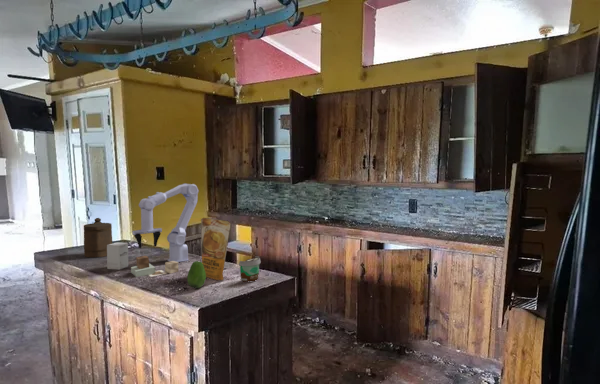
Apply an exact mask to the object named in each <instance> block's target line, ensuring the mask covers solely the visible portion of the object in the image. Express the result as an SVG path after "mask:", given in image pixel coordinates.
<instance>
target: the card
mask: <svg viewBox="0 0 600 384" xmlns="http://www.w3.org/2000/svg"><path fill="white" fill-rule="evenodd" d="M155 272H156V273H154V274H150V275H148V276H149V277H150V278H151V277H152V278H153V277H156V276H157V277H158V276H161V275H167V274H168V273H167V272H165V270H162V269H160V270H159V269H158V270H155Z"/></svg>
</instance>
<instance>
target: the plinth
mask: <svg viewBox="0 0 600 384" xmlns="http://www.w3.org/2000/svg"><path fill="white" fill-rule="evenodd" d="M155 271H156V267H155V266H154V265H153V264H151V263H150V262H149V267H148V268H143V269H139V268H137V265H135V266H131V267H130V273H131V274H132V275H133V276H134V277H135V278H138V277H145V276H149V275H150V274H154V273H156V272H155Z"/></svg>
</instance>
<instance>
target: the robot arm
mask: <svg viewBox="0 0 600 384" xmlns="http://www.w3.org/2000/svg"><path fill="white" fill-rule="evenodd" d="M199 192H200V190H199V188H198V186H197V185H196V184H195V183H192V184H191V183H182V184H178V185H177V186H175V187H172V188H171V189H169V190H166V191H165V192H161V191H160V192H159V191H156V192H155V194H153V195H149V196H147V198H142V199H140V201H139V203H138V207H139V208H140V217H141V220H140V221H141V222H140V225H141V227H140V228H141V229H137V230H132V231H131V232H132V236H134V237H135V240H136V241H137V244H138V245H137V246H138V248H139V249H142V247H143V246H142V237H143V236H142V235H144V234H152V236H153V246H154V247H157V246H158V241H159V239H160V237H161V233H163V232H162V231H163V228H162V227H158V228H157V227H156V228H154V216H153V215H154V212H153V211H154V208H155V207H157V206H159V205H161V204H164V203H165V202H166V201H167V199H170V198H172V197H175V196H177V195H178V194H179V195H180V194H182V195H183V197H184V198H185V200H186V203H185V205H184V208H183V210H182V211H181V214H180V216H179V218H178V221H177V223H176V226H174V227H173V228H172V229H171V231H170V232H169V233H168V234H167V236H166V237H167V238H166V240H167V243H169V258H168V259H166V261H167V262H170V261H175V262H178V263H180V262H187V261H189V249H188V245H187V244H186V243H185V242H186V236H187V232H186V229H187V227H188V225H189V223H190V220H191V218H192V215H193V213H194V211H195V208H196V206H197V203H198V199H199V198H198V194H199Z"/></svg>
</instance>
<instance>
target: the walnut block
mask: <svg viewBox="0 0 600 384" xmlns="http://www.w3.org/2000/svg"><path fill="white" fill-rule="evenodd" d="M135 260H136V262H135V263H136V266H137V268H139V269H143V268H148V267H149V263H150V258H149V257H148V256H147V255H143V256H136V257H135Z"/></svg>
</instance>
